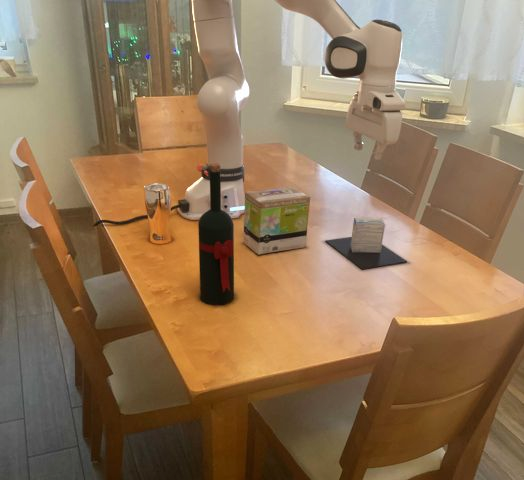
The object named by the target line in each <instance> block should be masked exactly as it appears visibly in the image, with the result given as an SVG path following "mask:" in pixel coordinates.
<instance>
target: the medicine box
mask: <svg viewBox="0 0 524 480" xmlns="http://www.w3.org/2000/svg"><path fill="white" fill-rule="evenodd" d="M352 222H353V223H352V231H351V237H352V238H351V249H352V252H354V253H381V247H382V245H383V240H384V234H385V230H386V229H385V228H386V223H385V221H384V219H383V218H382V217H359V216H357V217H356V216H355V217H353V221H352Z"/></svg>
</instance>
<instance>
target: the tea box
mask: <svg viewBox="0 0 524 480" xmlns="http://www.w3.org/2000/svg"><path fill="white" fill-rule="evenodd" d="M244 195H245V207H244V213H243V234H242V235H243V239H242V240H243V241H242V242H243V243H244V244H245V245H246V246H247V247H248V248H249V249H251V251H253V252H254V253H255V254H257V255H258V256H260V255H265V254H270V253H276V252H282V251H289V250H296V249H304V248H306V246H307V245H306V243H307V234H308V225H309V213H310V203H311V196H309V195H307V194H306V193H304V192H302V191H301V190H300V189H297V188H296V187H294V186H287V187H279V188H269V189H261V190H252V191H244Z"/></svg>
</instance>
